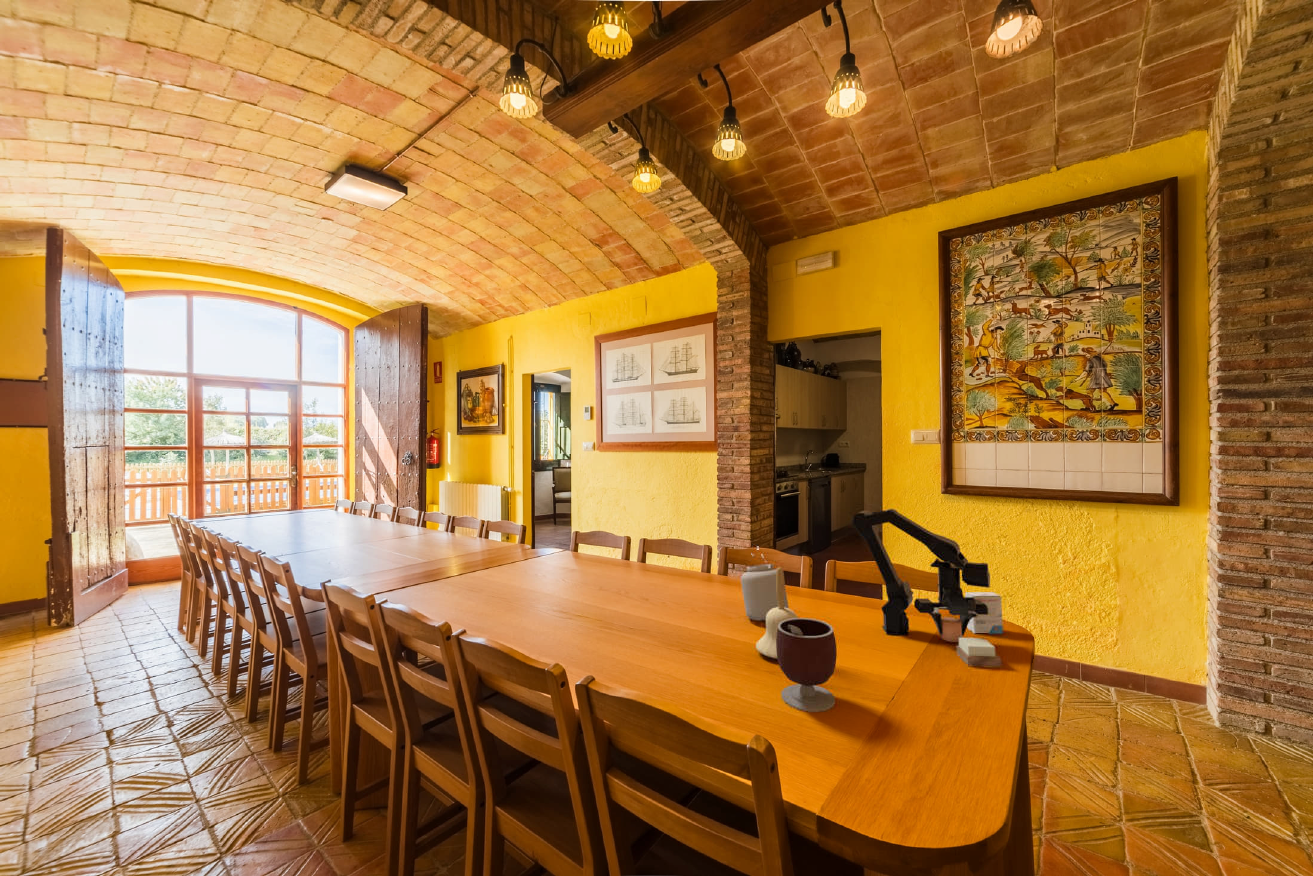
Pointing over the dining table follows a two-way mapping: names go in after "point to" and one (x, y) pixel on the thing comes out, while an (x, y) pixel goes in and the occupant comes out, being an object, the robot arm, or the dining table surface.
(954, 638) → the terracotta cylinder
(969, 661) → the walnut slab
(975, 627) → the ink box
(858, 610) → the dining table surface
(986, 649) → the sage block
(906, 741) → the dining table surface
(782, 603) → the handbell
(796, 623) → the mate gourd
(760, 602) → the jar
